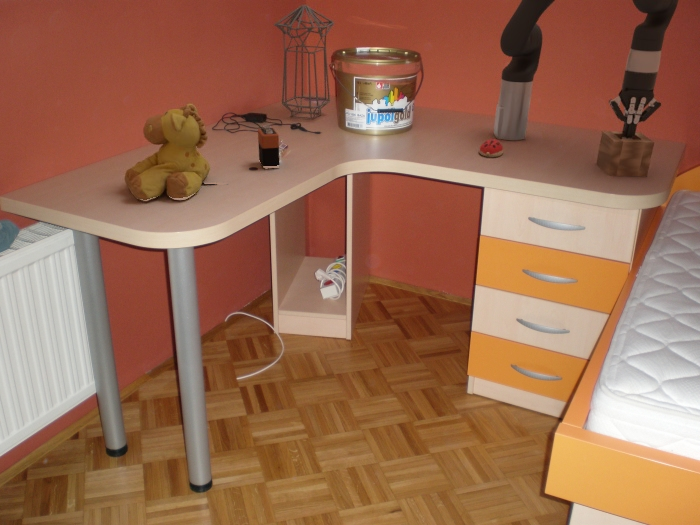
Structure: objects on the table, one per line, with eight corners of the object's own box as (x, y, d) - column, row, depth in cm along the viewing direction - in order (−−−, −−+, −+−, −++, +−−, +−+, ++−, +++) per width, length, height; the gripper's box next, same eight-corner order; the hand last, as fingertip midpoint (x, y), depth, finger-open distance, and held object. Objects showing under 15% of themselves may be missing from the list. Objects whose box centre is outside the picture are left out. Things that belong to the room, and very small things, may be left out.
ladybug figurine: (504, 150, 190) (506, 138, 188) (500, 160, 181) (502, 147, 180) (481, 148, 191) (482, 136, 190) (476, 157, 183) (477, 145, 181)
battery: (275, 161, 176) (273, 124, 172) (280, 168, 170) (278, 130, 166) (258, 162, 175) (257, 125, 171) (263, 170, 169) (261, 131, 165)
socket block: (607, 175, 170) (614, 141, 166) (596, 163, 179) (602, 131, 175) (646, 176, 170) (654, 142, 166) (633, 164, 179) (640, 132, 175)
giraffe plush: (120, 181, 160) (109, 102, 152) (216, 169, 170) (210, 94, 161) (135, 209, 144) (123, 122, 135) (239, 194, 153) (234, 112, 145)
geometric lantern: (336, 113, 225) (336, 4, 210) (317, 124, 212) (316, 8, 197) (294, 109, 230) (292, 1, 215) (273, 119, 217) (269, 5, 202)
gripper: (663, 66, 166) (648, 134, 174) (610, 65, 167) (597, 132, 174) (675, 71, 159) (659, 141, 167) (619, 70, 160) (606, 140, 167)
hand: (627, 137), depth 171 cm, fingers closed
